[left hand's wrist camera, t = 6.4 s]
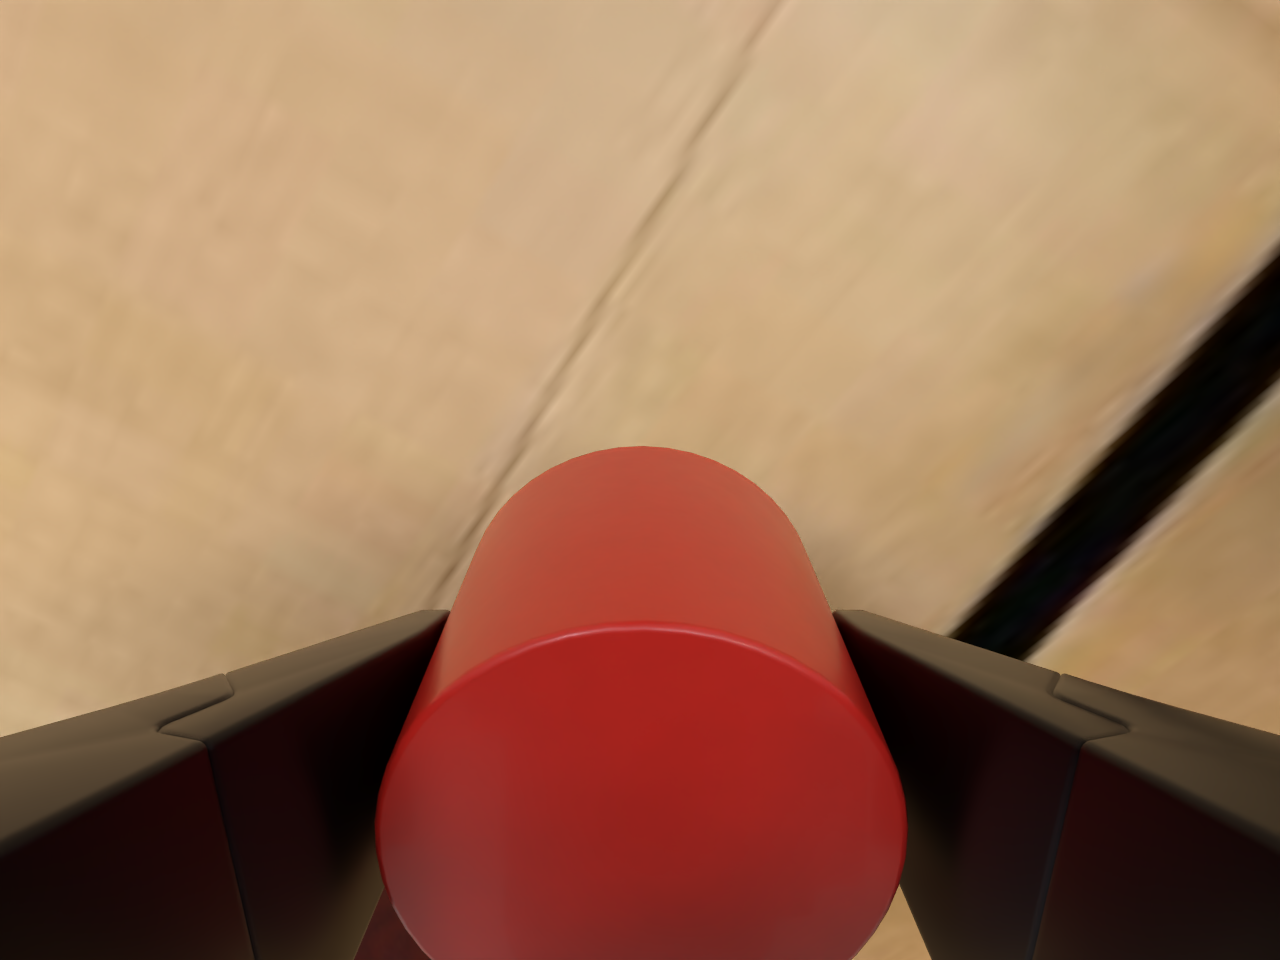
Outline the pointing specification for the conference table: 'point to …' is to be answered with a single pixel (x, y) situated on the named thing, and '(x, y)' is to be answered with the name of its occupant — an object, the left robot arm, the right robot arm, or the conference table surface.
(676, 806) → the canister
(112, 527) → the conference table surface
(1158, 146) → the conference table surface
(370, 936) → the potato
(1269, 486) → the conference table surface
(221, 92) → the conference table surface
